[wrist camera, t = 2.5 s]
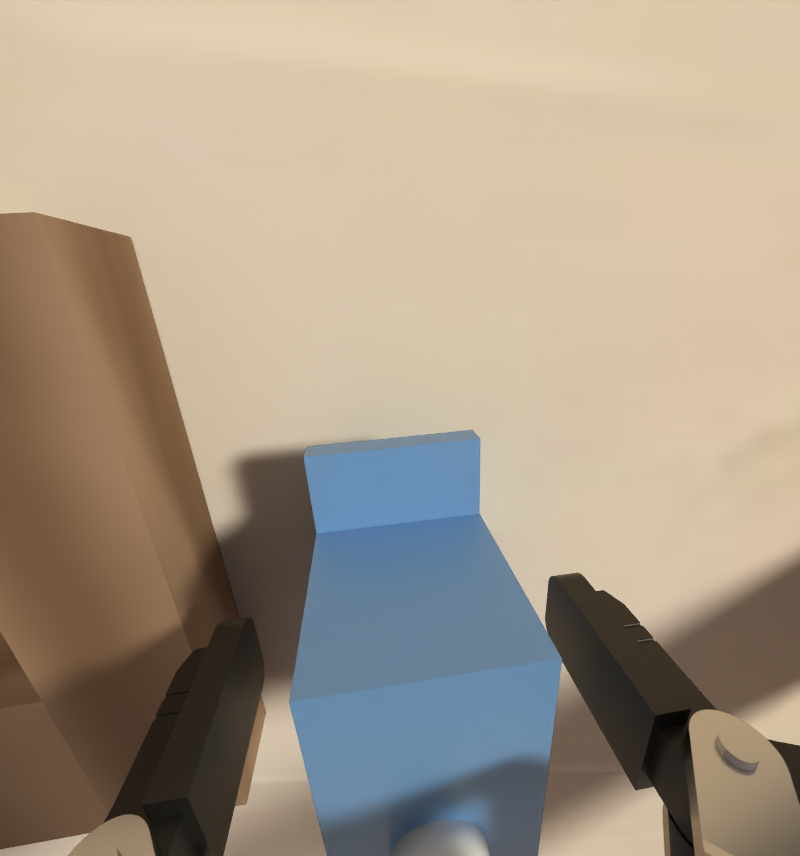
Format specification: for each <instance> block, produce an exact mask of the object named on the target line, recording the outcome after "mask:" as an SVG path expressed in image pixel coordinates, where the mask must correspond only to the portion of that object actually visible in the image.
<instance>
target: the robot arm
mask: <svg viewBox="0 0 800 856" xmlns="http://www.w3.org/2000/svg"><path fill="white" fill-rule="evenodd" d="M545 622H546V628H547V632H548V635H549V637H550V638H551V640H552V642H553V644H554V645H555V647H556V649H557V651H558V652H559V654H560V656H561V658H562V662H563V663H564V665H565V667H566V669H567V670H568V672H569V674H570V676H571V677H572V679H573V681H574V683H575V685H576V686H577V688H578V690H579V692H580V693H581V695H582V697H583V699H584V700H585V702H586V704H587V706H588V707H589V709H590V711H591V713H592V714H593V716H594V718H595V720H596V722H597V723H598V725H599V727H600V729H601V730H602V732H603V734H604V736H605V737H606V739H607V741H608V743H609V744H610V746H611V748H612V750H613V751H614V753H615V755H616V757H617V759H618V760H619V762H620V764H621V766H622V767H623V769H624V771H625V773H626V774H627V776H628V778H629V780H630V781H631V783H632V785H633V787H634V788H635V790H639V789H644V788H649V787H655V789H656V791H657V792H658V794H659V796H660V797H661V799H662V801H663V802H664V804H663V812H662V813H663V833H664V852H665V856H800V746H798V745H793V744H787V743H782V742H777V741H772V740H768V739H766V738H765V737H764V736H763V735H762V734H761V733H759V732H758V731H757V730H756V729H754V728H753V727H752V726H750V725H749V724H747V723H746V722H744V721H742V720H741V719H739V718H737V717H735V716H732V715H730V714H728V713H725V712H722V711H718V710H717V709H716V708H715V707H714V706H713V705H712V704H711V703H710V702H709V701H708V700H707V699H706V698H705V697H704V695H703V694H702V693H701V692H700V691H699V690H698V688H697V687H696V686H695V685H694V684H693V683H692V682H691V680H690V679H689V678H688V677H687V676H686V675H685V674H684V672H683V671H682V670H681V669H680V668H679V667H678V666H677V664H676V663H675V662H674V661H673V660H672V659H671V658H670V656H669V655H668V654H667V653H666V652H665V651H664V649H663V648H662V647H661V646H660V645H659V644H658V643H657V641H654V640H653V637H652V636H651V635H650V633H649V632H648V631H647V630H646V629H645V628H644V627H643V626H641V625H640V622H639V621H638V620H637V618H636V617H635V616H634V615H633V614H632V613H631V612H630V610H629V609H628V608H627V607H626V606H625V605H624V604H623V603H621V602H620V601H619V600H617V599H616V598H614V597H613V596H611V595H610V594H608V593H607V592H605V591H604V590H602V591H595V590H594V588H593V587H592V586H591V585H590V584H589V582H588V581H587V580H586V579H585V577H584V576H583V575H581V574H580V573H572V574H565V575H558V576H551V577H550V579H549V583H548V594H547V604H546V614H545ZM263 681H264V661H263V656H262V653H261V649H260V645H259V641H258V638H257V634H256V630H255V626H254V623H253V620H252V619H251V618H245V619H238V620H231V621H224V622H220V623H218V624H217V626H216V628H215V630H214V632H213V634H212V637H211V639H210V642H209V644H208V646H207V647H205V648H198V649H195V650H194V651H193V652H192V653H191V654H190V656H189V657H188V658H187V659H186V660H185V661H184V663H183V664H182V665H181V666H180V667H179V668H178V670H177V671H176V673H175V675H174V677H173V680H172V682H171V684H170V686H169V688H168V690H167V692H166V694H165V695H166V697H165V699H164V700H163V701H162V703H161V705H160V707H159V709H158V711H157V713H156V719H155V721H153V722H152V724H151V726H150V728H149V730H148V733H147V735H146V737H145V739H144V741H143V743H142V745H141V747H140V749H139V752H138V754H137V756H136V758H135V760H134V762H133V764H132V766H131V769H130V771H129V773H128V775H127V777H126V779H125V781H124V783H123V785H122V788H121V790H120V792H119V794H118V796H117V798H116V800H115V802H114V805H113V806H112V808H111V810H110V812H109V814H108V816H107V817H106V819H105V820H104V822H103V824H102V825H100V826H99V827H97V828H96V829H94V830H93V831H92V832H91V833H90V834H88V835H87V836H86V837H85V838H84V839H83V840H82V841H81V842H80V843H79V844H78V845H77V846H76V847H75V848H74V849H73V850H72V852H71V853H70V854H69V855H68V856H223V854H224V850H225V846H226V842H227V837H228V833H229V829H230V824H231V820H232V816H233V812H234V807H235V803H236V799H237V794H238V790H239V786H240V782H241V777H242V773H243V769H244V764H245V760H246V756H247V752H248V747H249V743H250V739H251V734H252V730H253V726H254V722H255V717H256V713H257V709H258V705H259V700H260V696H261V692H262V687H263Z"/></svg>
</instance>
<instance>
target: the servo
mask: <svg viewBox="0 0 800 856" xmlns="http://www.w3.org/2000/svg"><path fill="white" fill-rule="evenodd" d="M303 458H304V464H305V469H306V475H307V481H308V487H309V493H310V499H311V505H312V511H313V517H314V522H315V528H316V539H315V545H314V551H313V558H312V564H311V570H310V576H309V582H308V589H307V595H306V601H305V607H304V613H303V620H302V626H301V632H300V638H299V645H298V651H297V657H296V663H295V669H294V676H293V682H292V688H291V694H290V700H289V704H290V708H291V712H292V716H293V720H294V724H295V728H296V732H297V736H298V740H299V744H300V748H301V752H302V756H303V760H304V764H305V768H306V772H307V776H308V780H309V784H310V788H311V792H312V796H313V801H314V805H315V809H316V813H317V817H318V821H319V825H320V829H321V833H322V837H323V841H324V845H325V849H326V853H327V856H538V849H539V841H540V833H541V825H542V816H543V808H544V800H545V792H546V784H547V776H548V768H549V760H550V752H551V744H552V736H553V727H554V719H555V711H556V703H557V695H558V687H559V679H560V671H561V663H562V658H561V656H560V654H559V652H558V651H557V649H556V647H555V645H554V644H553V642H552V640H551V638H550V637H549V635H548V633H547V631H546V630H545V628H544V626H543V624H542V623H541V621H540V619H539V617H538V616H537V614H536V612H535V610H534V609H533V607H532V605H531V603H530V602H529V600H528V598H527V596H526V595H525V593H524V591H523V589H522V587H521V586H520V584H519V582H518V580H517V579H516V577H515V575H514V573H513V572H512V570H511V568H510V566H509V565H508V563H507V561H506V559H505V558H504V556H503V554H502V552H501V551H500V549H499V547H498V545H497V544H496V542H495V540H494V538H493V537H492V535H491V533H490V531H489V530H488V528H487V526H486V524H485V523H484V521H483V519H482V517H481V516H480V514H479V502H480V438H479V437H478V436H477V434H476V433H475V432H474V431H473V430H467V431H457V432H447V433H437V434H428V435H418V436H408V437H398V438H388V439H379V440H369V441H359V442H349V443H339V444H330V445H320V446H310V447H307V448H306V451H305V454H304V457H303Z"/></svg>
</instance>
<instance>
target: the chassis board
mask: <svg viewBox="0 0 800 856" xmlns="http://www.w3.org/2000/svg"><path fill="white" fill-rule="evenodd" d="M238 619H239V616H238V613H237V609H236V606H235V602H234V599H233V595H232V592H231V588H230V585H229V581H228V578H227V574H226V571H225V567H224V563H223V560H222V556H221V553H220V549H219V546H218V542H217V539H216V535H215V532H214V528H213V525H212V521H211V518H210V514H209V511H208V507H207V504H206V500H205V497H204V493H203V490H202V486H201V483H200V479H199V476H198V472H197V469H196V465H195V461H194V458H193V454H192V451H191V447H190V444H189V440H188V437H187V433H186V430H185V426H184V423H183V419H182V416H181V412H180V409H179V405H178V402H177V398H176V395H175V391H174V388H173V384H172V381H171V377H170V374H169V370H168V367H167V363H166V359H165V356H164V352H163V349H162V345H161V342H160V338H159V335H158V331H157V328H156V324H155V321H154V317H153V314H152V310H151V307H150V303H149V300H148V296H147V293H146V289H145V286H144V282H143V279H142V275H141V272H140V268H139V265H138V261H137V257H136V254H135V250H134V247H133V243H132V240H131V237H128V236H124V235H121V234H117V233H113V232H109V231H105V230H101V229H97V228H93V227H89V226H86V225H82V224H78V223H74V222H70V221H66V220H62V219H58V218H54V217H51V216H47V215H43V214H39V213H35V212H31V213H9V214H0V849H4V848H10V847H15V846H21V845H26V844H32V843H37V842H43V841H48V840H53V839H59V838H64V837H70V836H75V835H81V834H86V833H91V832H92V831H93V830H94V829H96V828H97V827H99V826H100V825H102V824H103V822H104V820H105V819H106V817H107V816H108V814H109V812H110V810H111V808H112V806H113V805H114V802H115V800H116V798H117V796H118V794H119V792H120V790H121V788H122V785H123V783H124V781H125V779H126V777H127V775H128V773H129V771H130V769H131V766H132V764H133V762H134V760H135V758H136V756H137V754H138V752H139V749H140V747H141V745H142V743H143V741H144V739H145V737H146V735H147V733H148V730H149V728H150V726H151V724H152V722H153V721H155V719H156V713H157V711H158V709H159V707H160V705H161V703H162V701H163V700H164V699H165V697H166V695H165V694H166V692H167V690H168V688H169V686H170V684H171V682H172V680H173V677H174V675H175V673H176V671H177V670H178V668H179V667H180V666H181V665H182V664H183V663H184V661H185V660H186V659H187V658H188V657H189V656H190V654H191V653H192V652H193V651H194V650H195V649H198V648H205V647H207V646H208V644H209V642H210V639H211V637H212V634H213V632H214V630H215V628H216V626H217V624H218V623H220V622H224V621H231V620H238ZM265 714H266V711H265V708H264V704H263V701H262V697H261V696H260V700H259V705H258V709H257V713H256V717H255V722H254V726H253V730H252V734H251V739H250V743H249V747H248V752H247V756H246V760H245V764H244V769H243V773H242V777H241V782H240V786H239V790H238V794H237V799H236V803H235V806H239V805H245V804H247V799H248V794H249V790H250V785H251V780H252V775H253V771H254V766H255V761H256V757H257V752H258V747H259V742H260V738H261V733H262V728H263V723H264V719H265Z"/></svg>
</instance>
